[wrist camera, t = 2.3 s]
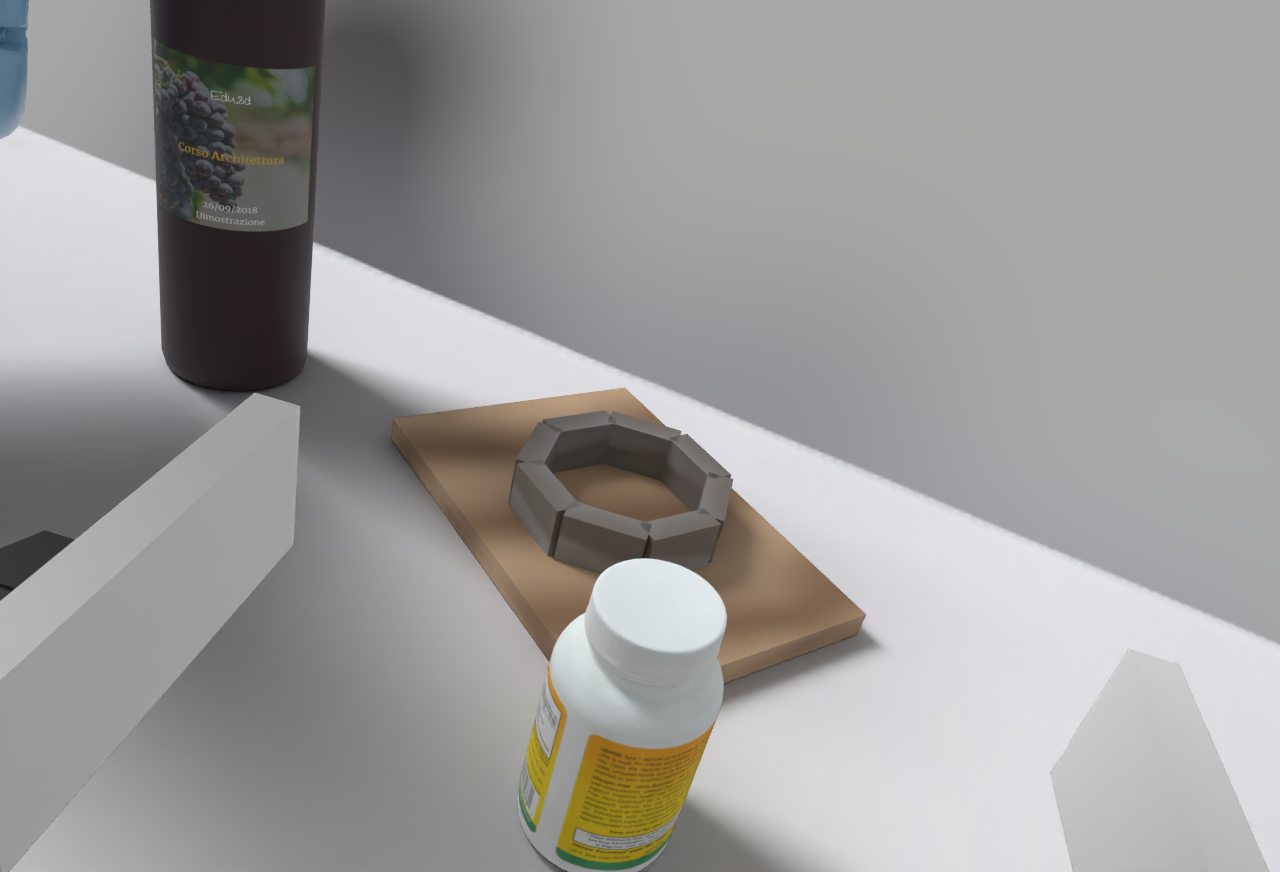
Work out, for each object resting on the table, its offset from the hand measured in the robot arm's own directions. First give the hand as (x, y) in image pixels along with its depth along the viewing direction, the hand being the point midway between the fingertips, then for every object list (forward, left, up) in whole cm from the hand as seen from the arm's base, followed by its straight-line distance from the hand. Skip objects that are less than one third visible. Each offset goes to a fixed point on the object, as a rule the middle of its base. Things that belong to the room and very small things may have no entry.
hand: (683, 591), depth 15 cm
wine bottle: (-39, +4, -18) cm, 43 cm away
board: (-20, +16, -18) cm, 31 cm away
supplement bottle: (-7, +7, -18) cm, 21 cm away
